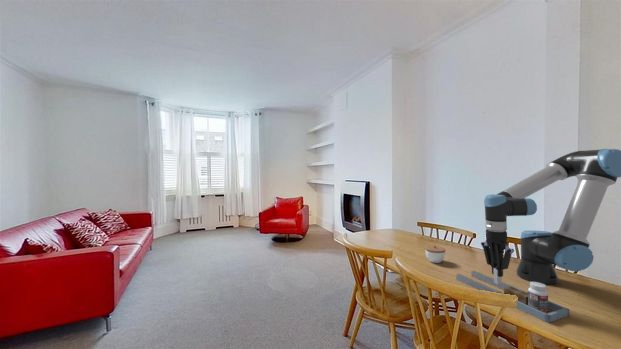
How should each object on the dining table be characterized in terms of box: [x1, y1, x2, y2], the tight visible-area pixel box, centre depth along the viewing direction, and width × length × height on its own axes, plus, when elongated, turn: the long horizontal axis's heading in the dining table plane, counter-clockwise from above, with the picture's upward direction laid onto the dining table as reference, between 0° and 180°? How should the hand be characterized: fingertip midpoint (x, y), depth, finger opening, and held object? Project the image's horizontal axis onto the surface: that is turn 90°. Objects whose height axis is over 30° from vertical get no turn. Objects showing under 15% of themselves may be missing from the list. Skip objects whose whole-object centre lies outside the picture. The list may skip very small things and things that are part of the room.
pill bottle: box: [527, 281, 549, 314], centre depth 96 cm, size 6×6×10 cm
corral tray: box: [515, 287, 570, 324], centre depth 97 cm, size 17×12×2 cm
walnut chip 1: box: [503, 285, 520, 295], centre depth 104 cm, size 4×4×4 cm
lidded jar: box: [424, 244, 446, 264], centre depth 147 cm, size 11×11×9 cm
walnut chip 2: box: [514, 290, 528, 305], centre depth 100 cm, size 4×4×4 cm
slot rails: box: [455, 270, 518, 294], centre depth 115 cm, size 20×12×2 cm, turn 19°
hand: (497, 282), depth 110 cm, fingers closed
